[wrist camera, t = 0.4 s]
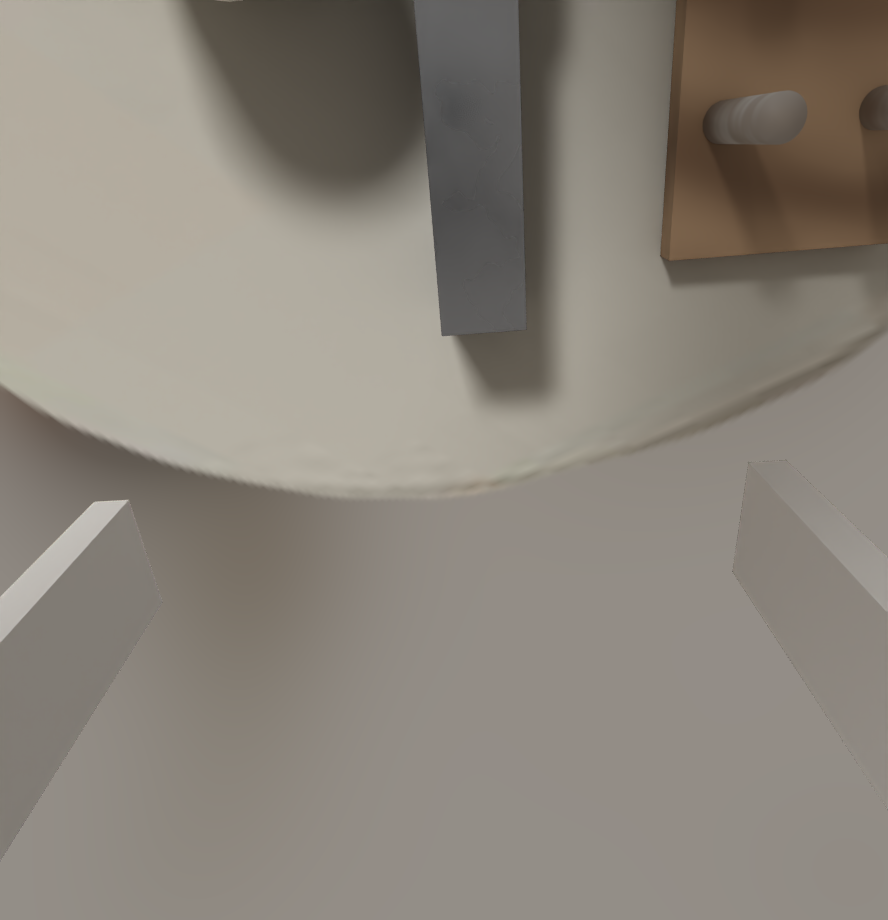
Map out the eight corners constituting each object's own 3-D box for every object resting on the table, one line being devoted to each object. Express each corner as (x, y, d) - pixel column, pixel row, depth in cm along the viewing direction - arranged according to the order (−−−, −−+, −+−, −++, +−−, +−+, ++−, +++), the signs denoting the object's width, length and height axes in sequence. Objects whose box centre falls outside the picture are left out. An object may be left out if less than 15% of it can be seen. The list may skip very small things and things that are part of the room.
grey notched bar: (391, -176, 27) (379, -240, 22) (513, -190, 26) (526, -258, 22) (433, 311, 35) (431, 337, 31) (526, 304, 35) (537, 328, 31)
